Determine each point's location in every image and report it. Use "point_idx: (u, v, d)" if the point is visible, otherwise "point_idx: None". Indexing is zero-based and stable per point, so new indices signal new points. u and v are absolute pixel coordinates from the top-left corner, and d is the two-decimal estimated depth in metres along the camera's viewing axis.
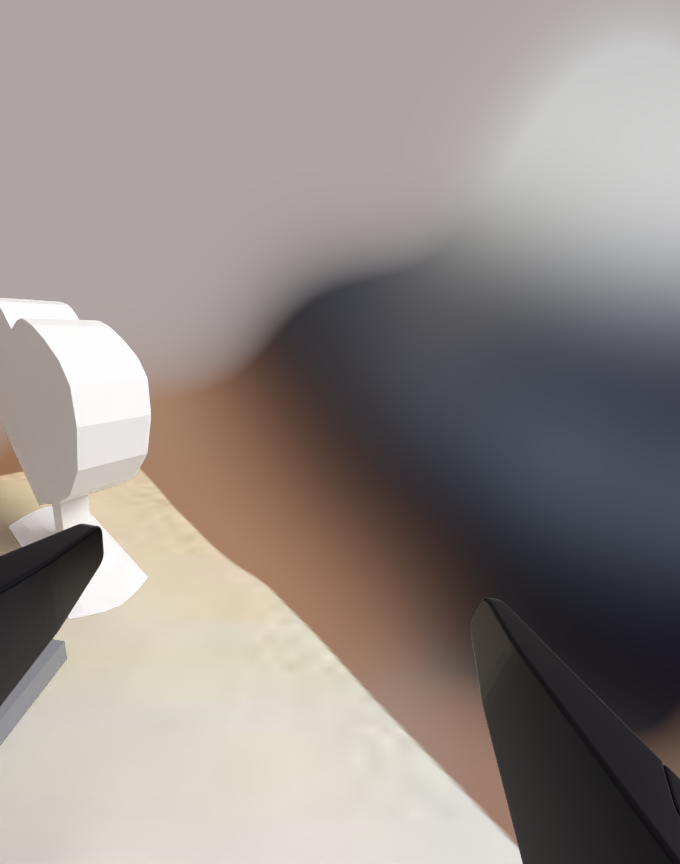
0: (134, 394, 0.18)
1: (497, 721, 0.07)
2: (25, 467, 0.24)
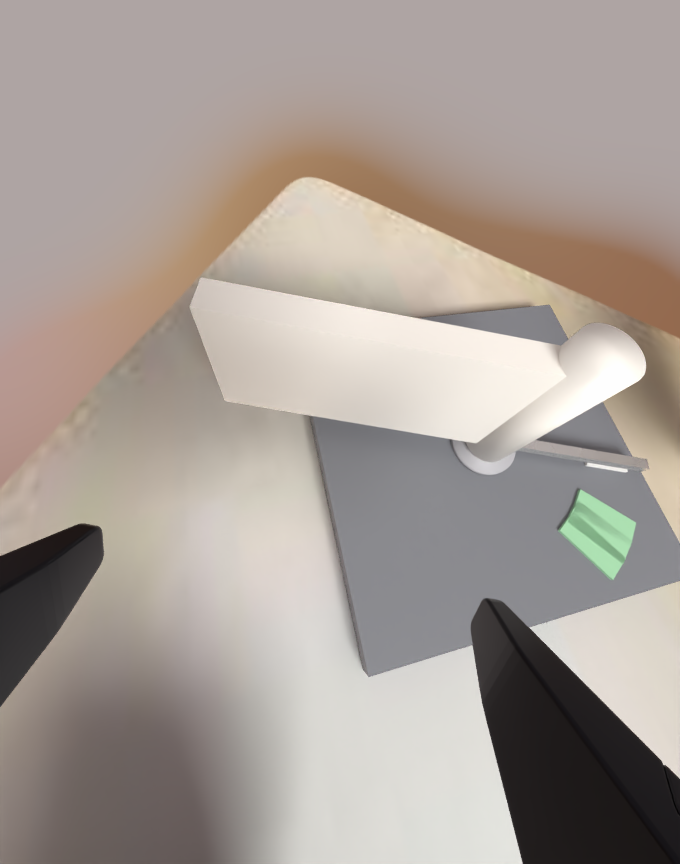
0: None
1: (497, 721, 0.07)
2: None
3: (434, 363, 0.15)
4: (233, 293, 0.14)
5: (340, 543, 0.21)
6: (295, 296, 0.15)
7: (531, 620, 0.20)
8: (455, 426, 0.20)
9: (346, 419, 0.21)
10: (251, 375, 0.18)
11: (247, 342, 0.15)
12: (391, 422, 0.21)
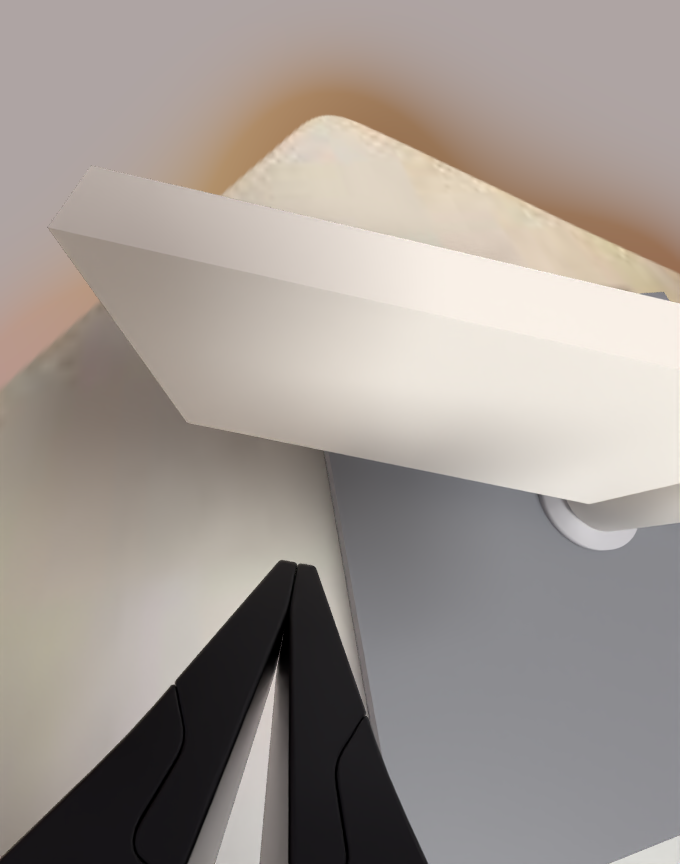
0: None
1: (277, 684, 0.07)
2: None
3: (611, 382, 0.07)
4: (163, 204, 0.06)
5: (367, 667, 0.12)
6: (308, 219, 0.06)
7: None
8: (571, 482, 0.12)
9: (383, 459, 0.13)
10: (222, 387, 0.10)
11: (202, 322, 0.07)
12: (459, 469, 0.13)
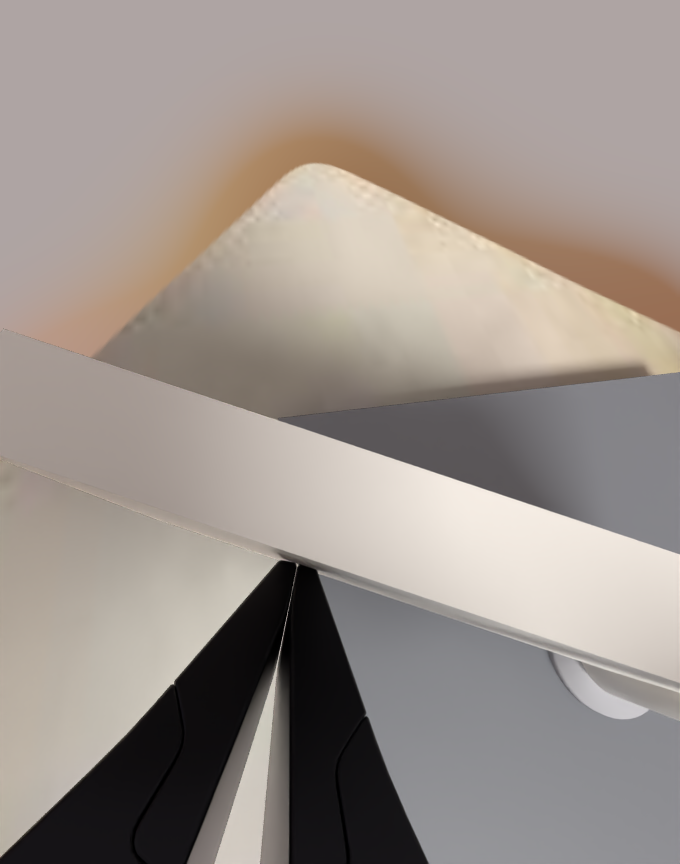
0: None
1: (277, 684, 0.07)
2: None
3: (651, 675, 0.05)
4: (80, 392, 0.05)
5: None
6: (267, 421, 0.05)
7: None
8: (584, 661, 0.10)
9: (367, 589, 0.11)
10: (179, 524, 0.08)
11: (133, 505, 0.06)
12: (452, 618, 0.11)
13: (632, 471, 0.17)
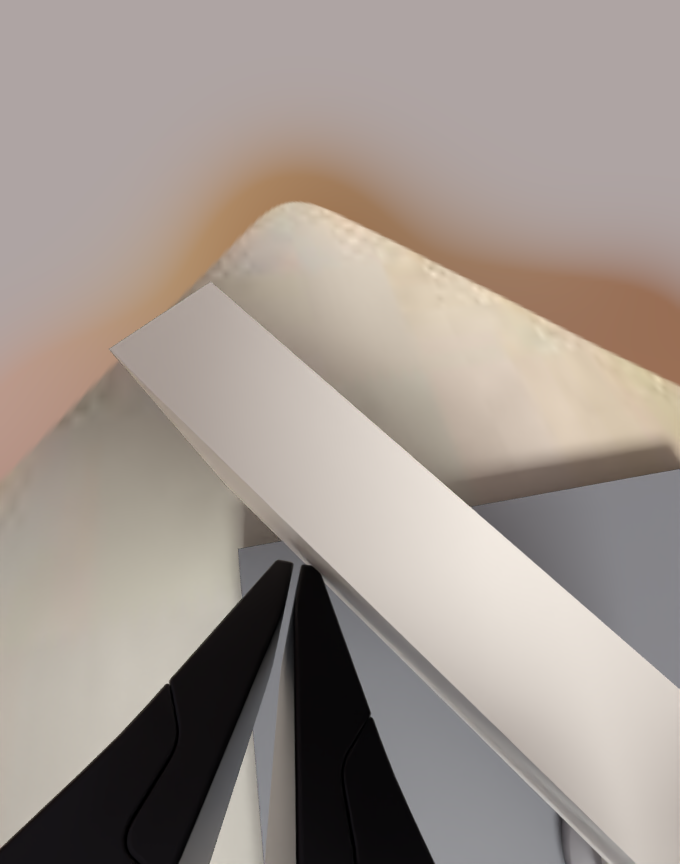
0: None
1: (281, 685, 0.07)
2: None
3: None
4: (256, 370, 0.04)
5: None
6: (427, 477, 0.04)
7: None
8: None
9: (396, 653, 0.10)
10: (256, 511, 0.08)
11: (244, 490, 0.06)
12: None
13: (663, 598, 0.14)
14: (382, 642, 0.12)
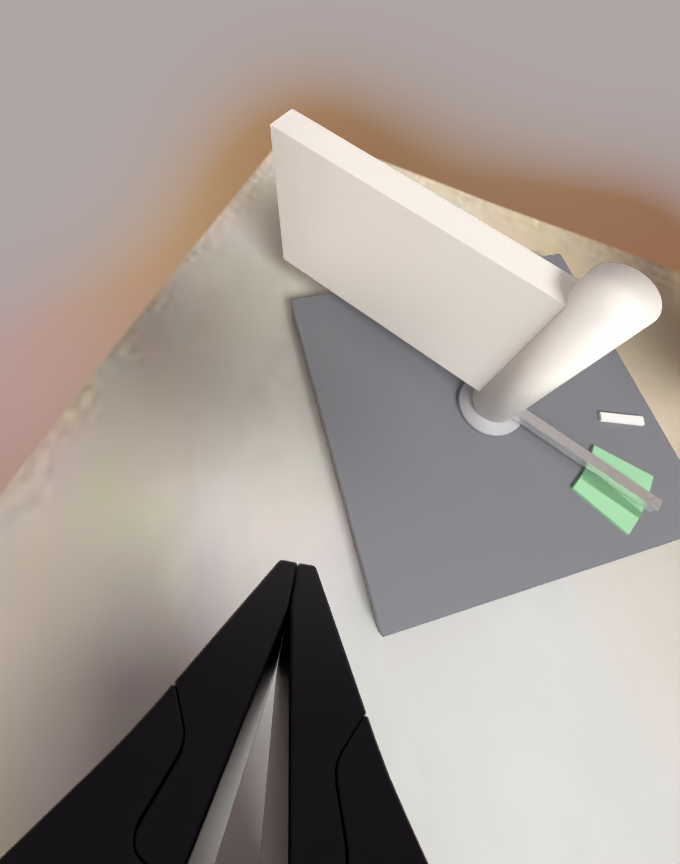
0: None
1: (276, 684, 0.07)
2: None
3: (446, 250, 0.16)
4: (308, 128, 0.17)
5: (349, 511, 0.21)
6: (356, 148, 0.16)
7: (544, 577, 0.20)
8: (461, 356, 0.20)
9: (371, 315, 0.23)
10: (305, 228, 0.20)
11: (305, 180, 0.18)
12: (407, 331, 0.22)
13: None
14: (367, 334, 0.25)
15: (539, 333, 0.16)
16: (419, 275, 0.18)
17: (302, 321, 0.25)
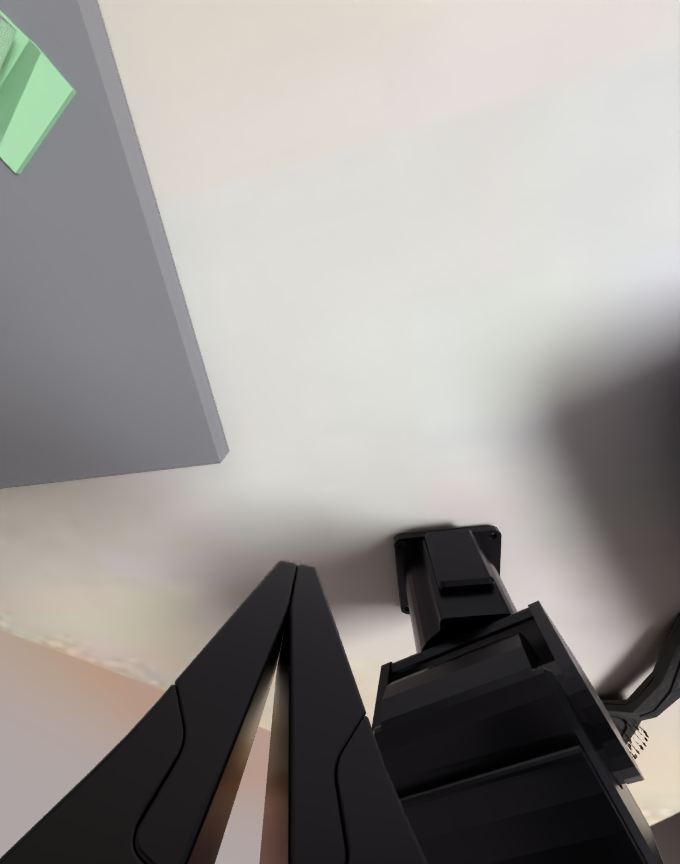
0: None
1: (277, 684, 0.07)
2: None
3: None
4: None
5: (105, 475, 0.20)
6: None
7: (152, 265, 0.15)
8: None
9: None
10: None
11: None
12: None
13: None
14: None
15: None
16: None
17: None
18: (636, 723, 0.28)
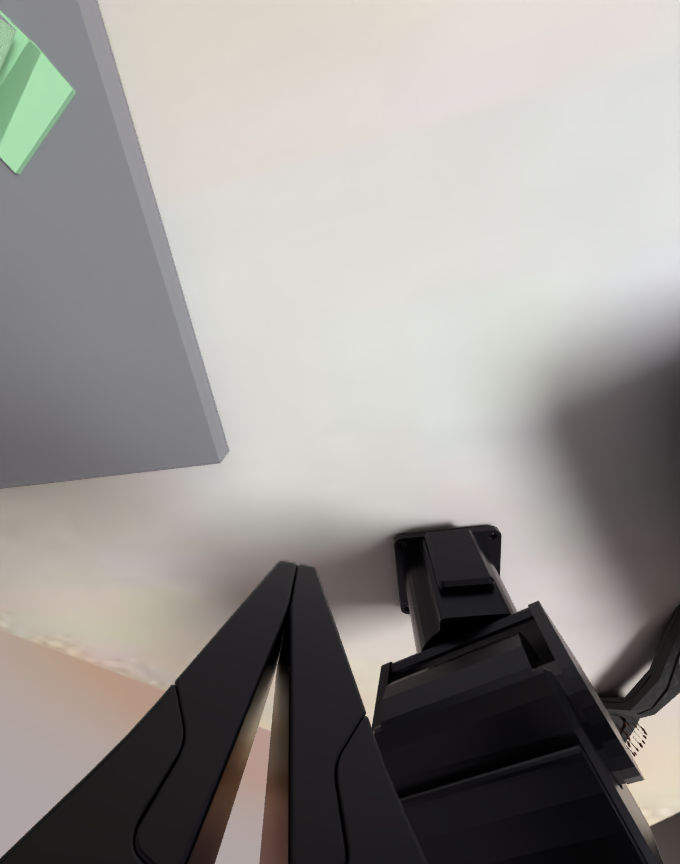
0: None
1: (277, 684, 0.07)
2: None
3: None
4: None
5: (105, 475, 0.20)
6: None
7: (152, 265, 0.15)
8: None
9: None
10: None
11: None
12: None
13: None
14: None
15: None
16: None
17: None
18: (635, 721, 0.27)
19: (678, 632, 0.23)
